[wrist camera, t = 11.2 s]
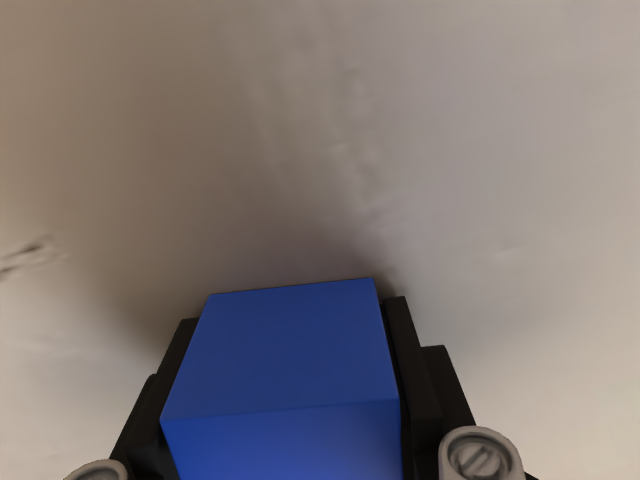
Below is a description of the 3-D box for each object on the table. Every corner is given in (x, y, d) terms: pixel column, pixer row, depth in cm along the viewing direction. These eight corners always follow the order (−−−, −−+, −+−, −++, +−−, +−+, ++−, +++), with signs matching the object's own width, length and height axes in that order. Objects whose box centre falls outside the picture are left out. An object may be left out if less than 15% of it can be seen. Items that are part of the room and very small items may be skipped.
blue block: (208, 293, 11) (156, 419, 8) (373, 275, 11) (399, 396, 8) (239, 417, 13) (209, 569, 9) (384, 403, 13) (410, 552, 9)
